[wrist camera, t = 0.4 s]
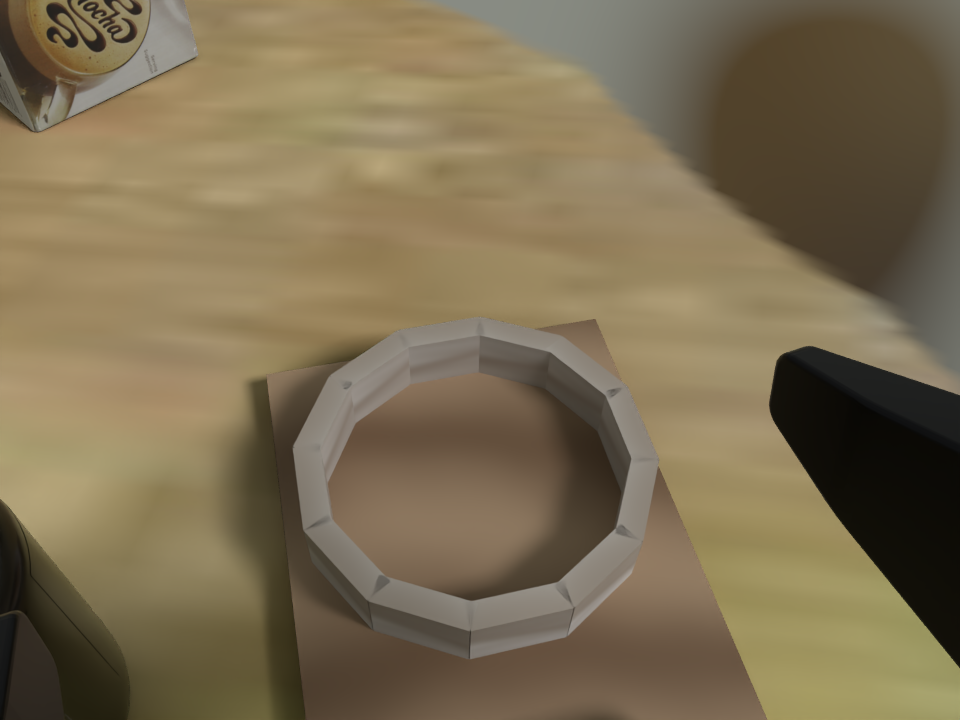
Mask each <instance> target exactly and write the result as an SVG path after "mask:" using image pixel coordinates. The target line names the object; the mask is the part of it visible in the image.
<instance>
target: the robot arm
mask: <svg viewBox="0 0 960 720" xmlns="http://www.w3.org/2000/svg"><path fill="white" fill-rule="evenodd" d="M769 407H770V413H771V416H772V418H773V421H774V423H775V424H776V426H777V427H778V429H779V430H780V432H781V433H782V435H783V436H784V438H785V440H786V441H787V443H788V444H789V446H790V447H791V449H792V450H793V452H794V453H795V455H796V456H797V458H798V459H799V461H800V462H801V464H802V465H803V467H804V469H805V470H806V472H807V473H808V475H809V476H810V478H811V479H812V481H813V482H814V484H815V485H816V487H817V488H818V490H819V491H820V493H821V494H822V496H823V498H824V499H825V501H826V502H827V503H828V505H829V506H830V508H831V509H832V511H833V512H834V513H835V515H836V516H837V517H838V519H839V520H840V521H841V523H842V524H843V525H844V527H845V528H846V529H847V530H848V532H849V533H850V534H851V535H852V537H853V538H854V539H855V540H856V541H857V543H858V544H859V545H860V546H861V548H862V549H863V550H864V551H865V552H866V554H867V555H868V556H869V557H870V559H871V560H872V561H873V562H874V564H875V565H876V566H877V567H878V568H879V570H880V571H881V572H882V573H883V575H884V576H885V577H886V578H887V579H888V581H889V582H890V583H891V584H892V586H893V587H894V588H895V589H896V591H897V592H898V593H899V594H900V595H901V597H902V598H903V599H904V600H905V602H906V603H907V604H908V605H909V606H910V608H911V609H912V610H913V611H914V613H915V614H916V615H917V616H918V617H919V619H920V620H921V621H922V622H923V624H924V625H925V626H926V627H927V629H928V630H929V631H930V632H931V633H932V635H933V636H934V637H935V638H936V640H937V641H938V642H939V643H940V644H941V646H942V647H943V648H944V649H945V651H946V652H947V653H948V654H949V655H950V657H951V658H952V659H953V660H954V662H955V663H956V664H957V665H958V667H959V668H960V395H957V394H954V393H951V392H948V391H945V390H942V389H939V388H936V387H933V386H930V385H927V384H924V383H921V382H918V381H915V380H912V379H909V378H906V377H903V376H900V375H897V374H894V373H891V372H888V371H885V370H882V369H879V368H876V367H873V366H870V365H867V364H865V363H861V362H859V361H856V360H853V359H850V358H847V357H844V356H841V355H838V354H835V353H832V352H829V351H826V350H823V349H820V348H816V347H813V346H806V347H802V348H799V349H796V350H793V351H790V352H787V353H784V354H782V355H781V356H780V357H779V359H778V360H777V362H776V366H775V372H774V378H773V383H772V389H771V395H770V401H769ZM0 720H65V719H64V712H63V705H62V698H61V691H60V684H59V677H58V672H57V668H56V665H55V662H54V660H53V657H52V655H51V654H50V652H49V650H48V649H47V647H46V646H45V644H44V643H43V641H42V639H41V638H40V636H39V635H38V633H37V632H36V630H35V628H34V627H33V625H32V624H31V622H30V621H29V619H28V618H27V616H26V615H25V614H24V613H22V612H21V611H11V612H8V613H5V614H2V615H0Z"/></svg>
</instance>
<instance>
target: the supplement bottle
mask: <svg viewBox="0 0 960 720" xmlns="http://www.w3.org/2000/svg"><path fill="white" fill-rule="evenodd" d="M11 611H21V612H22V613H24V614H25V615H26V616H27V618H28V619H29V621H30V622H31V624H32V625H33V627H34V628H35V630H36V632H37V633H38V635H39V636H40V638H41V639H42V641H43V643H44V644H45V646H46V647H47V649H48V650H49V652H50V654H51V655H52V657H53V660H54V662H55V665H56V668H57V672H58V677H59V684H60V691H61V698H62V705H63V712H64V719H65V720H127V718H128V712H129V703H130V686H129V676H128V671H127V666H126V663H125V660H124V657H123V655H122V653H121V650H120V648H119V646H118V644H117V643H116V641H115V639H114V638H113V636H112V634H111V633H110V632H109V631H108V629H107V628H106V627H105V625H104V624H103V622H102V621H101V620H100V619H99V617H98V616H97V615H96V614H95V612H94V611H93V610H92V609H91V607H90V606H89V605H88V604H87V603H86V601H85V600H84V599H83V598H82V596H81V595H80V594H79V593H78V591H77V590H76V589H75V588H74V587H73V585H72V584H71V583H70V582H69V580H68V579H67V578H66V577H65V576H64V574H63V573H62V572H61V571H60V569H59V568H58V567H57V566H56V565H55V563H54V562H53V561H52V560H51V558H50V557H49V556H48V555H47V553H46V552H45V551H44V550H43V549H42V547H41V546H40V545H39V544H38V542H37V541H36V540H35V539H34V538H33V536H32V535H31V534H30V533H29V531H28V530H27V529H26V528H25V527H24V525H23V524H22V523H21V522H20V520H19V519H18V518H17V517H16V516H15V514H14V513H13V512H12V511H11V509H10V508H9V507H8V506H7V505H6V504H5V503H4V502H3V501H2V500H1V499H0V615H2V614H5V613H8V612H11Z"/></svg>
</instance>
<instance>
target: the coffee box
mask: <svg viewBox="0 0 960 720" xmlns="http://www.w3.org/2000/svg"><path fill="white" fill-rule="evenodd" d="M197 56H198V51H197V47H196V43H195V39H194V36H193V32H192V28H191V25H190V21H189V17H188V13H187V10H186V5H185V2H184V0H0V102H1V103H2V104H3V105H4V106H5V107H6V108H7V109H9V110H10V111H11V112H12V113H13V114H14V115H15V116H16V117H18V118H19V119H20V120H21V121H22V122H23V123H24V124H25V125H27V126H28V127H29V128H30V129H31V130H32V131H34V132H40V131H43V130H45V129H47V128H49V127H51V126H53V125H55V124H57V123H59V122H61V121H63V120H65V119H68V118H70V117H72V116H74V115H76V114H78V113H80V112H82V111H84V110H86V109H88V108H90V107H93V106H95V105H97V104H99V103H101V102H103V101H105V100H107V99H109V98H111V97H113V96H116V95H118V94H120V93H122V92H124V91H126V90H128V89H130V88H132V87H134V86H137V85H139V84H141V83H143V82H145V81H147V80H149V79H151V78H153V77H155V76H157V75H159V74H162V73H164V72H166V71H168V70H170V69H172V68H174V67H176V66H178V65H180V64H182V63H184V62H186V61H189V60H191V59H193V58H195V57H197Z"/></svg>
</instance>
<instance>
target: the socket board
mask: <svg viewBox="0 0 960 720" xmlns="http://www.w3.org/2000/svg"><path fill="white" fill-rule="evenodd" d="M267 384H268V393H269V402H270V410H271V419H272V428H273V437H274V445H275V454H276V463H277V472H278V480H279V489H280V498H281V507H282V515H283V524H284V533H285V542H286V550H287V559H288V568H289V577H290V585H291V594H292V603H293V612H294V620H295V629H296V638H297V647H298V655H299V664H300V673H301V682H302V690H303V699H304V708H305V717H306V720H767V718H766V716H765V713H764V711H763V709H762V706H761V704H760V702H759V699H758V697H757V695H756V692H755V690H754V688H753V685H752V683H751V681H750V678H749V676H748V674H747V671H746V669H745V667H744V664H743V662H742V660H741V657H740V655H739V653H738V650H737V648H736V646H735V643H734V641H733V639H732V636H731V634H730V632H729V629H728V627H727V625H726V622H725V620H724V618H723V615H722V613H721V611H720V608H719V606H718V604H717V601H716V599H715V597H714V594H713V592H712V590H711V588H710V585H709V583H708V581H707V578H706V576H705V574H704V571H703V569H702V567H701V564H700V562H699V560H698V557H697V555H696V553H695V550H694V548H693V546H692V543H691V541H690V539H689V536H688V534H687V532H686V529H685V527H684V525H683V522H682V520H681V518H680V515H679V513H678V511H677V508H676V506H675V504H674V501H673V499H672V497H671V494H670V492H669V490H668V487H667V485H666V483H665V480H664V478H663V476H662V473H661V471H660V469H659V466H658V463H659V458H658V456H657V453H656V451H655V449H654V446H653V444H652V442H651V439H650V437H649V435H648V433H647V430H646V428H645V426H644V423H643V421H642V419H641V416H640V414H639V412H638V409H637V407H636V405H635V403H634V400H633V398H632V396H631V393H630V391H629V389H628V386H627V385H625V384H624V383H623V382H622V380H621V378H620V376H619V373H618V371H617V369H616V366H615V364H614V362H613V359H612V357H611V355H610V352H609V350H608V348H607V345H606V343H605V341H604V338H603V336H602V334H601V331H600V329H599V327H598V324H597V322H596V320H595V319H593V320H587V321H581V322H575V323H569V324H563V325H557V326H551V327H545V328H539V329H531V328H527V327H522V326H518V325H514V324H510V323H505V322H501V321H497V320H493V319H488V318H484V317H481V318H480V317H475V318H469V319H463V320H457V321H451V322H445V323H439V324H432V325H426V326H420V327H414V328H408V329H402V330H398V331H396V332H394V333H393V334H391V335H390V336H388V337H387V338H385V339H384V340H382V341H381V342H379V343H378V344H376V345H375V346H373V347H372V348H370V349H369V350H367V351H366V352H364V353H363V354H361V355H360V356H358V357H357V358H355V359H354V360H350V361H344V362H338V363H332V364H326V365H320V366H314V367H308V368H302V369H296V370H290V371H284V372H278V373H273V374H267Z"/></svg>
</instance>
